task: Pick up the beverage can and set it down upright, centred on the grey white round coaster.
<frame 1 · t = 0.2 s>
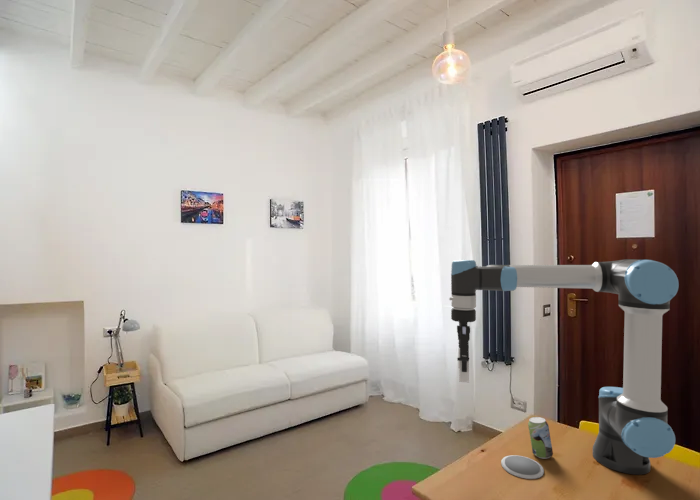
hand: (463, 374, 123), 28 cm above the table, fingers open, 13 cm apart
beverage can: (540, 456, 126), on the table
grey white round coaster: (522, 467, 120), on the table
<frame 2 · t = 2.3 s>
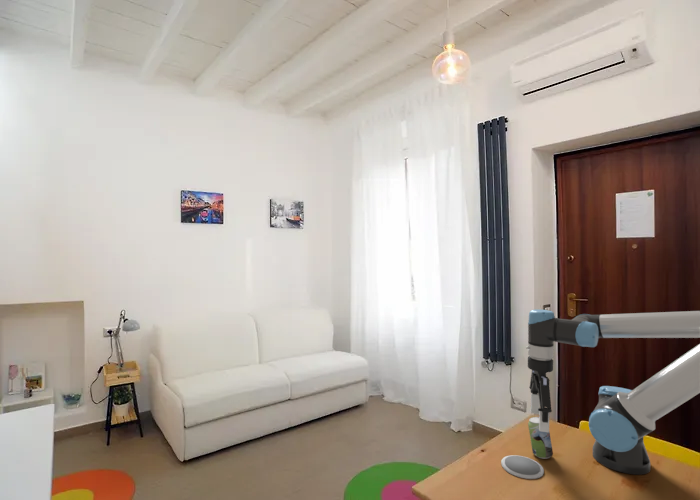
hand: (539, 421, 127), 11 cm above the table, fingers open, 13 cm apart
nothing on the table moved.
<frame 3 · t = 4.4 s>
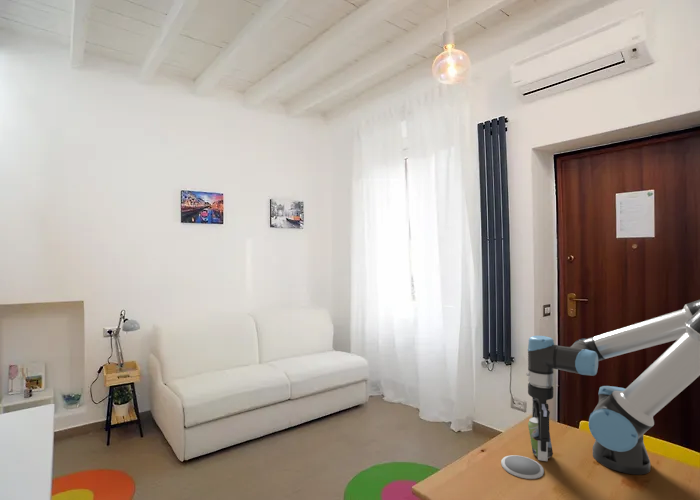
hand: (540, 454, 126), 0 cm above the table, fingers closed on beverage can, 6 cm apart
beverage can: (540, 456, 126), on the table, touching gripper
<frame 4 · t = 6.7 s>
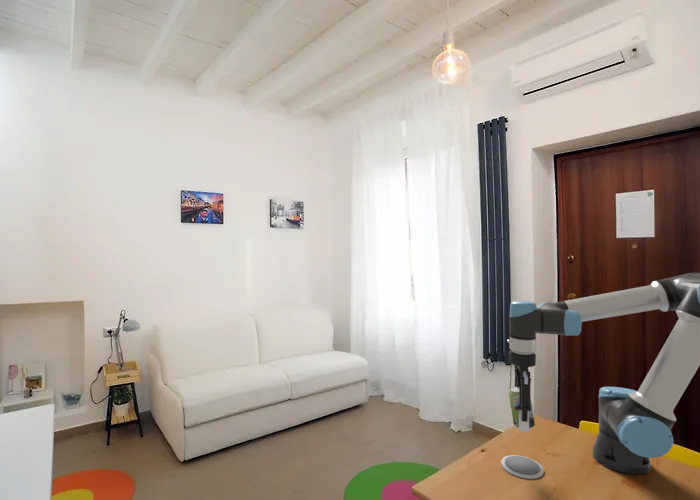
hand: (521, 425, 120), 13 cm above the table, fingers closed on beverage can, 6 cm apart
beverage can: (521, 427, 120), point 12 cm above the table, touching gripper
when the fingers open (3 cm above the table, at t = 9.1 s): beverage can drops 1 cm, resting on grey white round coaster.
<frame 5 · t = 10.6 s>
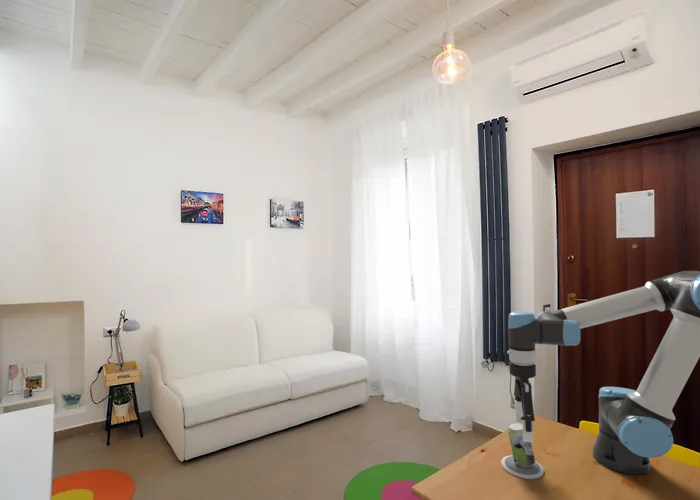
hand: (524, 431, 119), 11 cm above the table, fingers open, 13 cm apart
beverage can: (521, 464, 120), point 1 cm above the table, touching grey white round coaster
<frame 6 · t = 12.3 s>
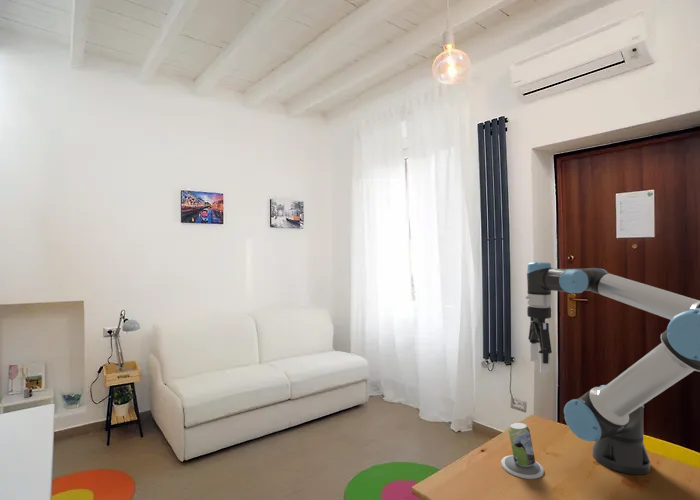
hand: (539, 366, 135), 26 cm above the table, fingers open, 13 cm apart
nothing on the table moved.
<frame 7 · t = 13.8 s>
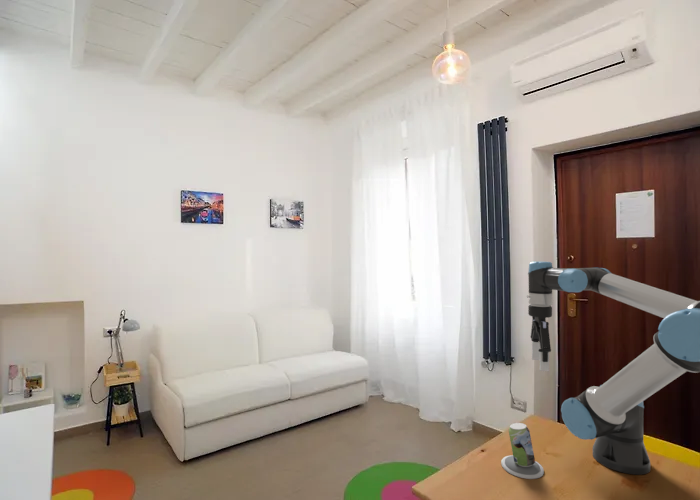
hand: (539, 365, 137), 27 cm above the table, fingers open, 13 cm apart
nothing on the table moved.
at the end: beverage can inside the target area on the grey white round coaster (0.1 cm from its centre), point 0.8 cm above the grey white round coaster's base; beverage can tilted 1°; the gripper is holding nothing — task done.
